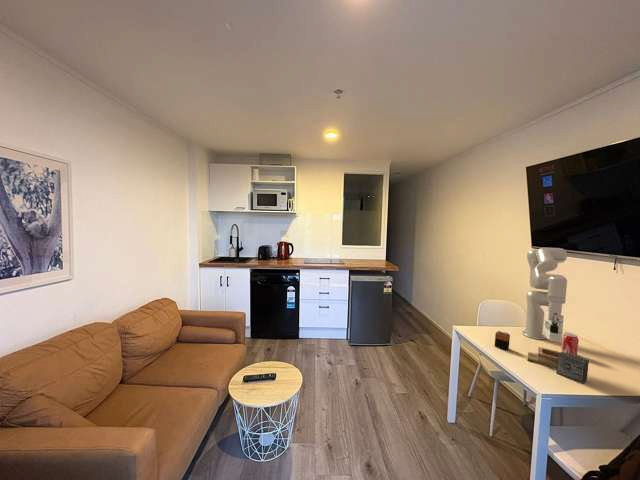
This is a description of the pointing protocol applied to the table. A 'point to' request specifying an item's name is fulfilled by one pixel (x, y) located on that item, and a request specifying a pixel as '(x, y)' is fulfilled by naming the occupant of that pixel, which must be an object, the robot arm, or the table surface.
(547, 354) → the socket
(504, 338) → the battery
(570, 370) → the small box
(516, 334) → the table surface
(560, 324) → the syrup box
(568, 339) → the soda can
